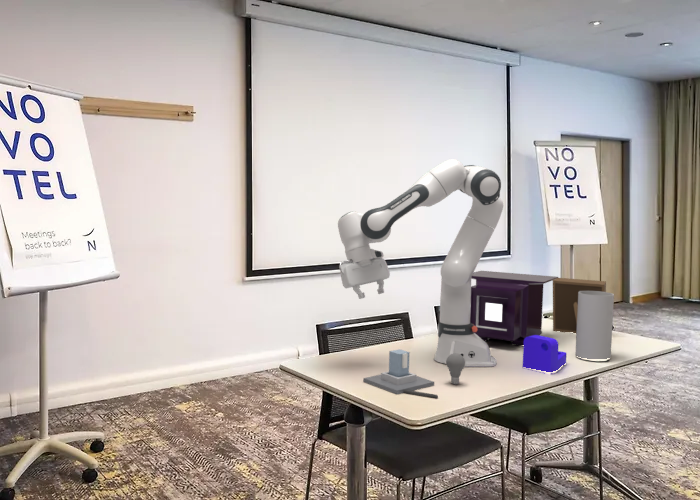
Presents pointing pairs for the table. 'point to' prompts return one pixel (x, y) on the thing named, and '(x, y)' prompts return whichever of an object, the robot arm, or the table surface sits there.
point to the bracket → (542, 354)
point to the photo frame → (570, 301)
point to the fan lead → (420, 393)
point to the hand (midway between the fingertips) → (372, 295)
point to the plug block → (398, 363)
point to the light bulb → (455, 366)
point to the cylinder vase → (594, 324)
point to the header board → (398, 382)
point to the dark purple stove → (507, 305)
